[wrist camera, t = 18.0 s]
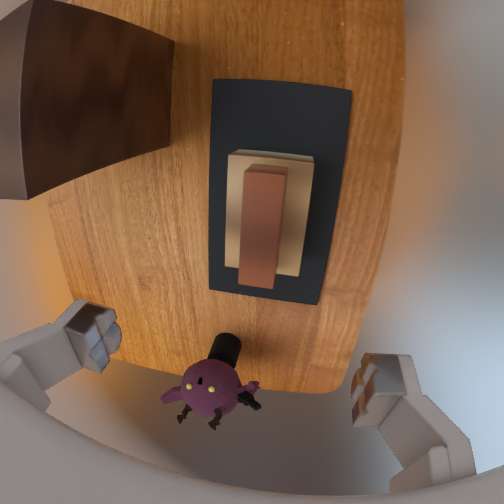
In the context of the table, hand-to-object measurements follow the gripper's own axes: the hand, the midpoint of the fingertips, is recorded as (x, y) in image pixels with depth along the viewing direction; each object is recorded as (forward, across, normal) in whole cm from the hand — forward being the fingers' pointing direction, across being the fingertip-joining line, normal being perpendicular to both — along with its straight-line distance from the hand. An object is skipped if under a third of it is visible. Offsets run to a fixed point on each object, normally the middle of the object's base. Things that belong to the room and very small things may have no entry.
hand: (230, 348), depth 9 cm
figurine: (+18, +4, +19) cm, 26 cm away
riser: (+18, +14, -8) cm, 24 cm away
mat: (+18, +1, +1) cm, 18 cm away
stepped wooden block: (+17, +1, +1) cm, 17 cm away
